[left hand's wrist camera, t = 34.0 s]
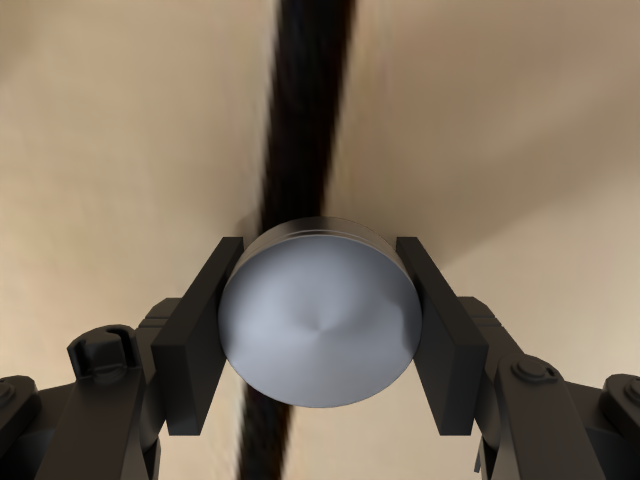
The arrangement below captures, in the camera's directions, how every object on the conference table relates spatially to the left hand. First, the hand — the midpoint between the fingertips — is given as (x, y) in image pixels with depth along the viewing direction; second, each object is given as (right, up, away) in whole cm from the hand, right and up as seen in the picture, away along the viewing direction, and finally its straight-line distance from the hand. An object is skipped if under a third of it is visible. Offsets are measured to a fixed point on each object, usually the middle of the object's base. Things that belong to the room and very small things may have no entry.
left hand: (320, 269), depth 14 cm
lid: (0, -1, -4) cm, 4 cm away
